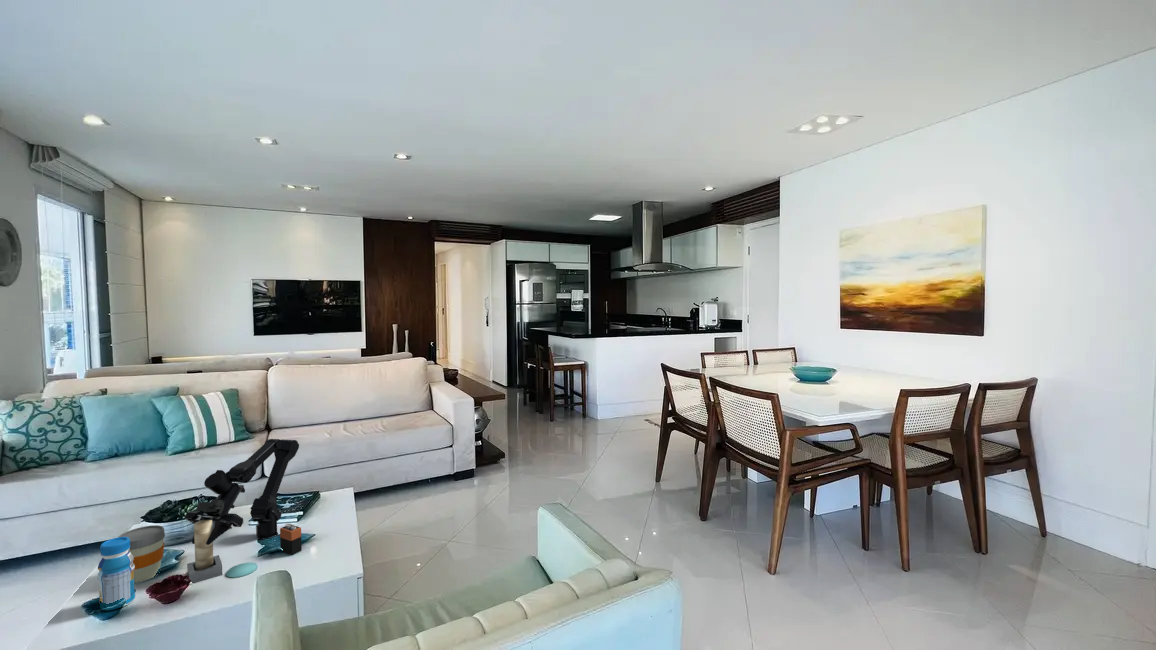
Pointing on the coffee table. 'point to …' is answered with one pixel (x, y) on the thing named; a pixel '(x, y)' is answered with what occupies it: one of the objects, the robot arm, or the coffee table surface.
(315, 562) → the coffee table surface
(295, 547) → the battery
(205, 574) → the socket block
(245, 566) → the mat
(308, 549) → the coffee table surface
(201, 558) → the plug
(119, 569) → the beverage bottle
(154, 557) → the reusable coffee cup
